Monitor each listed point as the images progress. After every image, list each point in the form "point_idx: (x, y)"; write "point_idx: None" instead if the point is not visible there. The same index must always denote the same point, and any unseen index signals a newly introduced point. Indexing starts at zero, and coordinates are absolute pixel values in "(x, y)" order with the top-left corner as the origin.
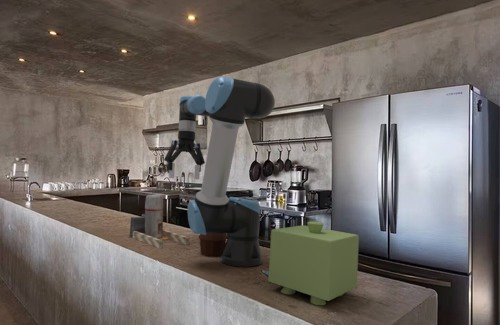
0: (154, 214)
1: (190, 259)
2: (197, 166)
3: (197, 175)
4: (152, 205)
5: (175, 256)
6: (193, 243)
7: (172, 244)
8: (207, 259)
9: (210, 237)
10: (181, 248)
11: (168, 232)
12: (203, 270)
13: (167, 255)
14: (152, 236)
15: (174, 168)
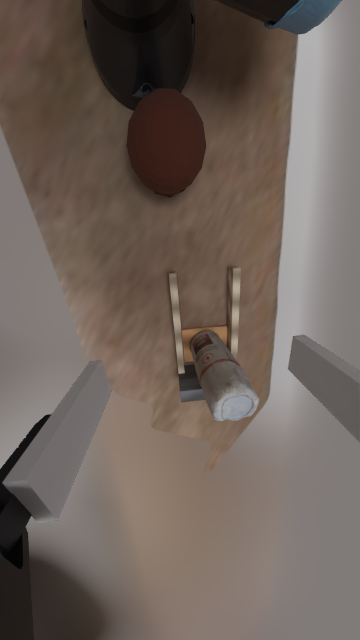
0: (228, 355)
1: (233, 144)
2: (49, 469)
3: (92, 384)
4: (241, 371)
5: (244, 187)
6: (155, 277)
7: (197, 287)
8: (203, 121)
9: (193, 107)
10: (199, 247)
11: (181, 339)
12: (264, 25)
13: (252, 204)
14: (215, 334)
15: (353, 380)
